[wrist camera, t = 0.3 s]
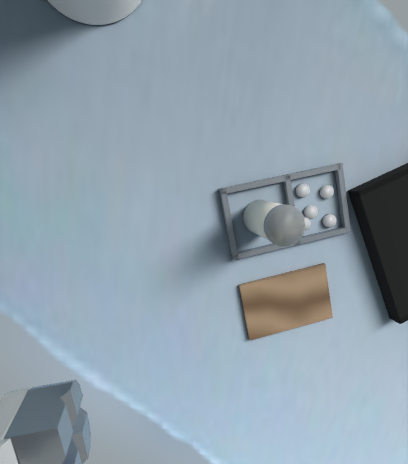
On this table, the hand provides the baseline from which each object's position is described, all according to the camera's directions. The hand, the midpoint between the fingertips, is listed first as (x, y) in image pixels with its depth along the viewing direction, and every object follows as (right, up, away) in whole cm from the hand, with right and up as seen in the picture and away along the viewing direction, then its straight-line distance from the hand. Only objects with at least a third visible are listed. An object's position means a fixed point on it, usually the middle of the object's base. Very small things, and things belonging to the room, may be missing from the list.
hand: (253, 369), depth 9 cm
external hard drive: (+32, +2, +54) cm, 62 cm away
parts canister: (+7, +6, +48) cm, 49 cm away
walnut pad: (+12, -8, +51) cm, 53 cm away
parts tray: (+11, +7, +48) cm, 50 cm away
